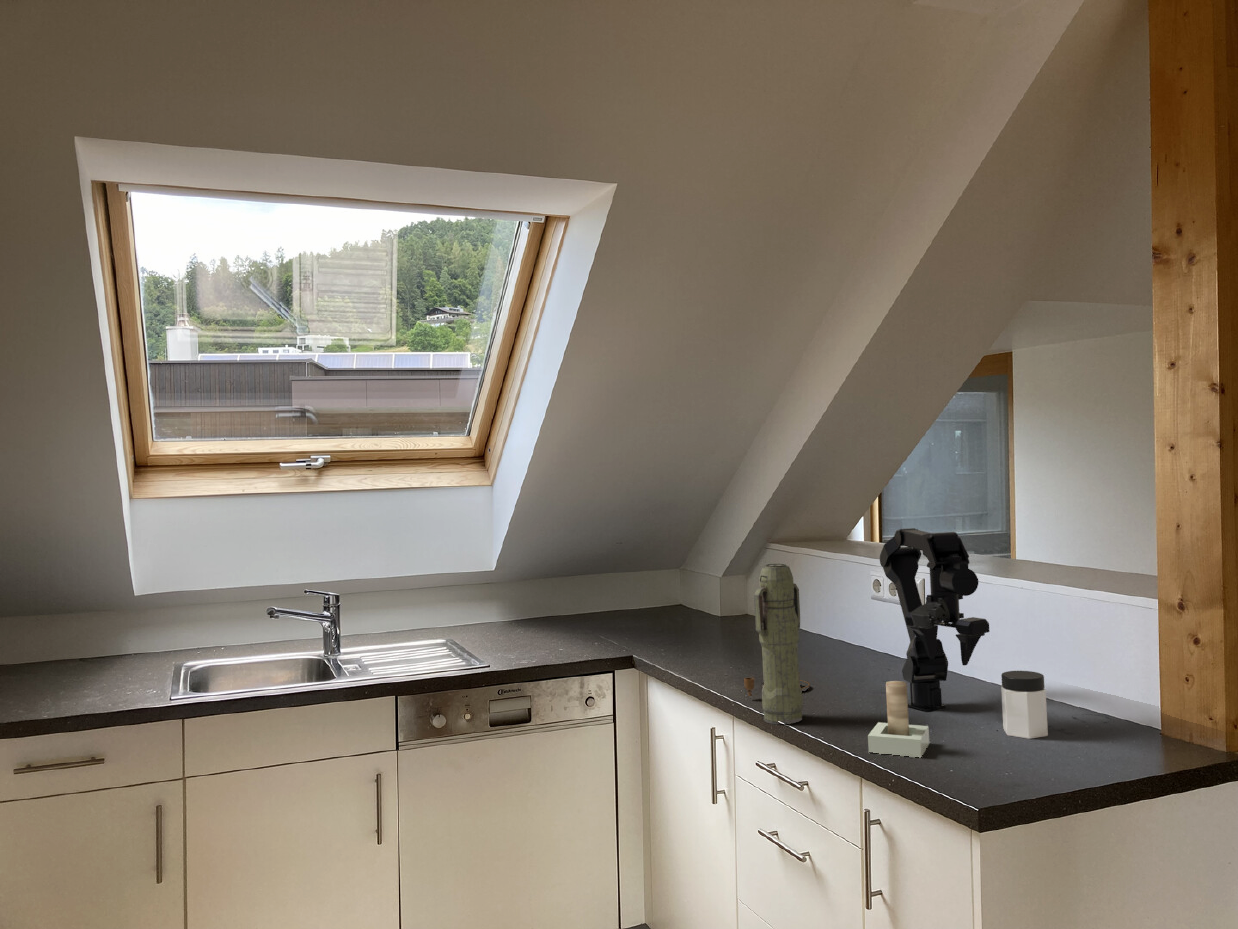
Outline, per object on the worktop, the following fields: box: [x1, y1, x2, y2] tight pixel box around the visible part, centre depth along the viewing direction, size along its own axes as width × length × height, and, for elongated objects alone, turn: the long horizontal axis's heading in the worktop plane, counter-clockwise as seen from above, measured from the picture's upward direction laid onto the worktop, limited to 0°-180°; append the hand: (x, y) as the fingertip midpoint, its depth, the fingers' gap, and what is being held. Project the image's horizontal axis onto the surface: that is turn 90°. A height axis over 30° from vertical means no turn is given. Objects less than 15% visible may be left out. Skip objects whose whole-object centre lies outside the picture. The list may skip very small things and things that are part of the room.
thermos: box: [753, 563, 804, 726], centre depth 216 cm, size 9×12×35 cm
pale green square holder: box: [867, 721, 930, 759], centre depth 190 cm, size 10×10×4 cm
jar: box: [1000, 670, 1049, 740], centre depth 197 cm, size 9×8×12 cm
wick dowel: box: [885, 680, 910, 736], centre depth 190 cm, size 4×4×13 cm
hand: (948, 661), depth 207 cm, fingers open, 9 cm apart
